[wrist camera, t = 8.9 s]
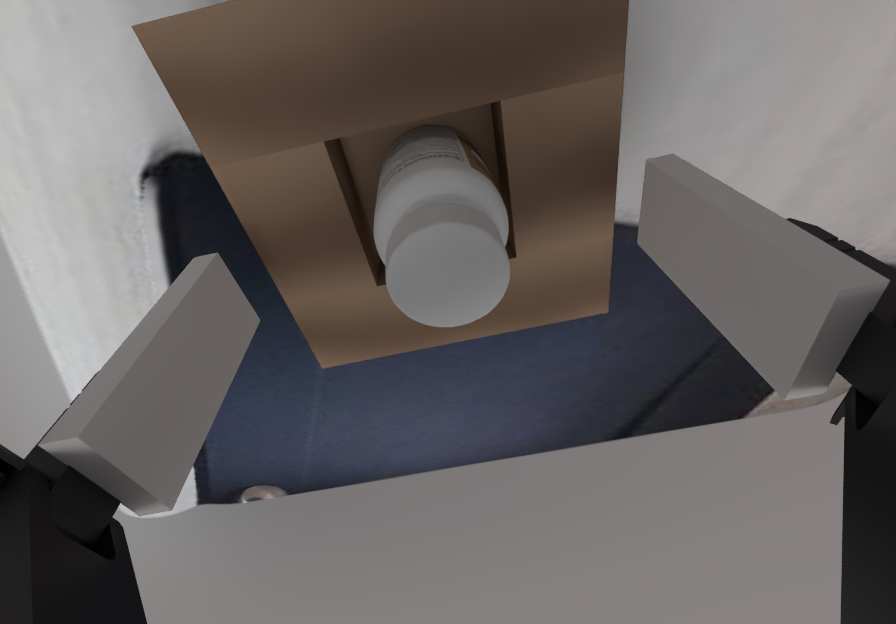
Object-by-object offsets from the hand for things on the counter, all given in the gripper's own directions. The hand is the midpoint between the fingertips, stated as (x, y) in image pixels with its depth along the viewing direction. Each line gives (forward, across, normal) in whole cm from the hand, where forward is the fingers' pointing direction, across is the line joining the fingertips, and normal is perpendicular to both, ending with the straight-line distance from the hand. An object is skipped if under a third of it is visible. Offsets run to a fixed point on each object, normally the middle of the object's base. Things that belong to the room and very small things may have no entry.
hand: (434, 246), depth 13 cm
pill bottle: (+6, 0, 0) cm, 6 cm away
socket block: (+8, 0, 0) cm, 8 cm away
